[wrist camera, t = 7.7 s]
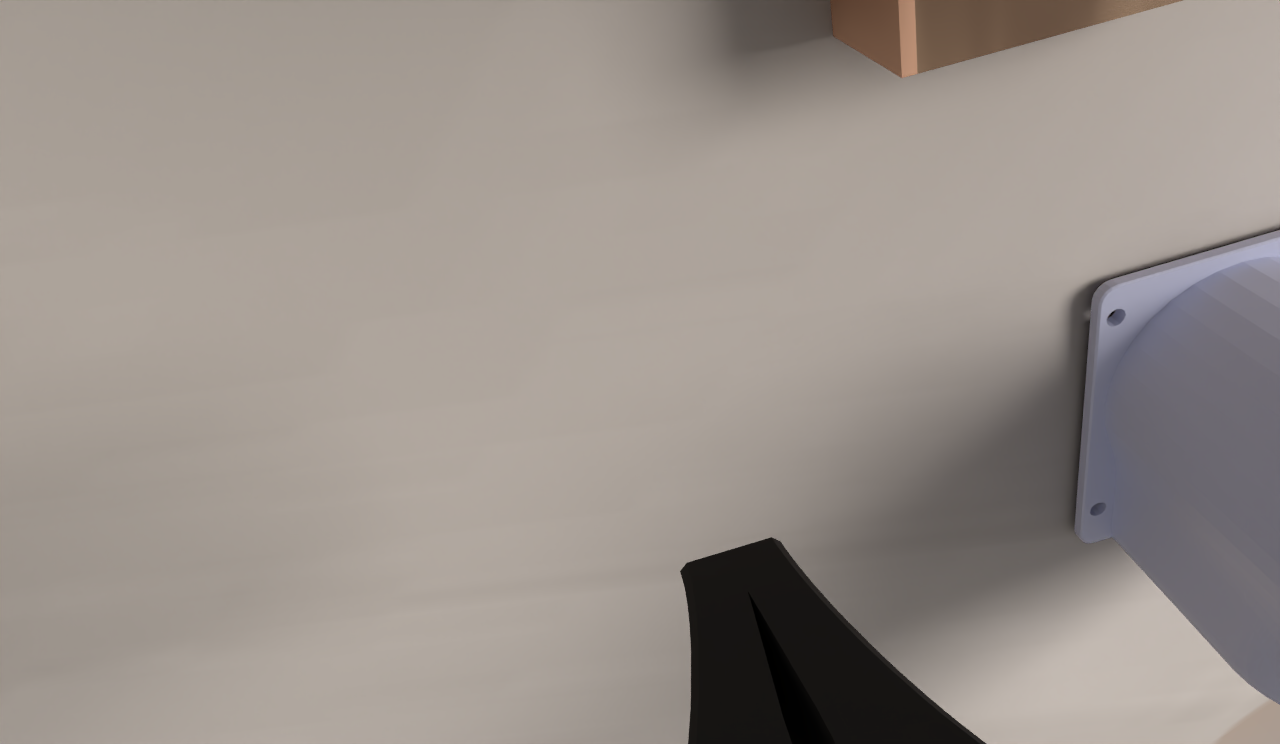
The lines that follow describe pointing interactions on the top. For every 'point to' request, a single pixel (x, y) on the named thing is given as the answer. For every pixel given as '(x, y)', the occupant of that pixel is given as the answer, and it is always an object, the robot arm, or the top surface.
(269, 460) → the top surface
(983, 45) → the walnut block
